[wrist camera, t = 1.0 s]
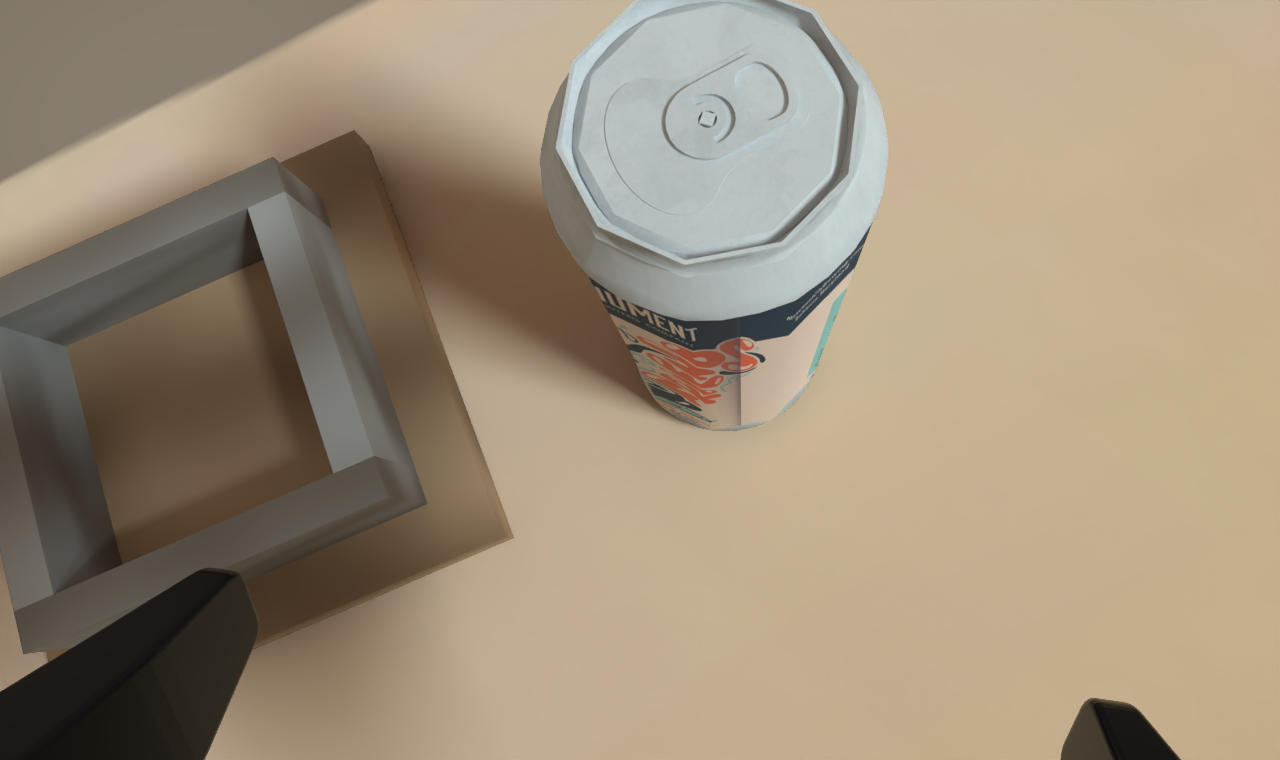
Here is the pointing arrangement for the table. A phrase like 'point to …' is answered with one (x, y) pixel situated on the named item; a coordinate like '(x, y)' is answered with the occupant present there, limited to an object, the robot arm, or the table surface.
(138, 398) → the socket board
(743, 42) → the beer can
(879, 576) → the table surface
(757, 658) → the table surface
